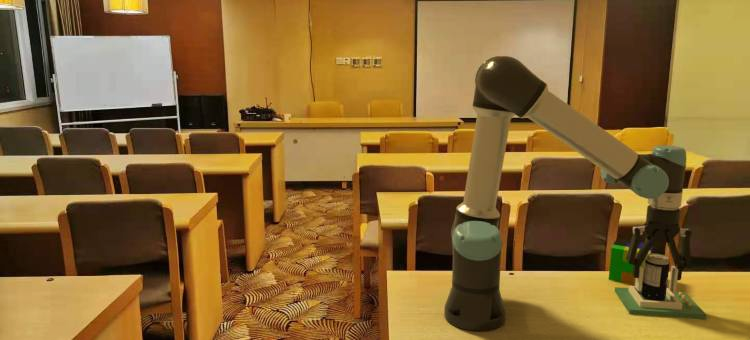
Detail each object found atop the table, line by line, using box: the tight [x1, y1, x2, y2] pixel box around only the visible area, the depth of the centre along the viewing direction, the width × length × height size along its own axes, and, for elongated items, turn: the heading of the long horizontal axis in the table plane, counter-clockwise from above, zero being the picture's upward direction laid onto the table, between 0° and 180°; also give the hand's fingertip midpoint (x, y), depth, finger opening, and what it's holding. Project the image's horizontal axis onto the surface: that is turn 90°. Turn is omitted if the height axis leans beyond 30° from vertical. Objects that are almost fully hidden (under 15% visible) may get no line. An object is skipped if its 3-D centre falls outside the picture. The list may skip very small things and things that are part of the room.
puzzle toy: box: [608, 238, 654, 286], centre depth 158 cm, size 10×10×10 cm
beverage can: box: [641, 252, 671, 301], centre depth 140 cm, size 6×6×12 cm
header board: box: [614, 285, 708, 320], centre depth 141 cm, size 18×14×3 cm
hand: (655, 290), depth 141 cm, fingers open, 8 cm apart
